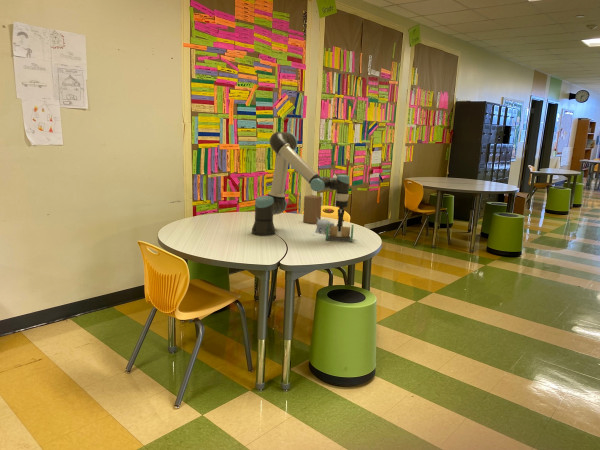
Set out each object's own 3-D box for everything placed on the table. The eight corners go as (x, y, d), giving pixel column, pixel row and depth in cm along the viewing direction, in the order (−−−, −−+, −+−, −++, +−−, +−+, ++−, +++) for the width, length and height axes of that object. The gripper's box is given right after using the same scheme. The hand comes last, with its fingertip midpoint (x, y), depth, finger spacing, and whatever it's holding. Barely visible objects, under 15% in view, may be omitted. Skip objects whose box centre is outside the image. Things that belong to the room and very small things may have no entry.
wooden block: (320, 222, 322) (322, 196, 318) (314, 224, 313) (315, 197, 309) (309, 220, 327) (310, 194, 323) (302, 222, 319) (303, 195, 315)
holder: (325, 240, 264) (326, 226, 262) (326, 236, 274) (327, 223, 272) (352, 242, 262) (353, 228, 260) (352, 238, 272) (353, 224, 270)
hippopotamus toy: (330, 235, 278) (331, 221, 277) (311, 232, 287) (312, 218, 285) (339, 233, 287) (339, 219, 285) (319, 229, 295) (320, 216, 294)
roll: (329, 237, 265) (330, 226, 264) (330, 235, 272) (330, 224, 271) (349, 239, 263) (350, 227, 262) (349, 237, 270) (350, 226, 269)
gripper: (347, 203, 251) (344, 238, 255) (348, 198, 275) (346, 230, 279) (334, 202, 252) (332, 237, 256) (336, 197, 276) (334, 229, 280)
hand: (339, 234), depth 267 cm, fingers open, 13 cm apart
